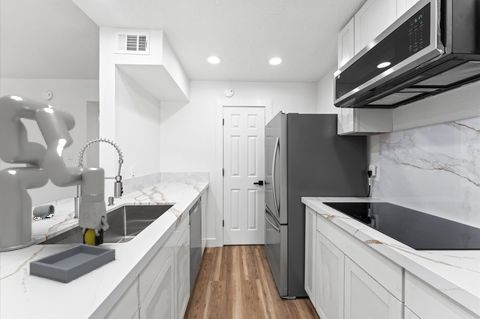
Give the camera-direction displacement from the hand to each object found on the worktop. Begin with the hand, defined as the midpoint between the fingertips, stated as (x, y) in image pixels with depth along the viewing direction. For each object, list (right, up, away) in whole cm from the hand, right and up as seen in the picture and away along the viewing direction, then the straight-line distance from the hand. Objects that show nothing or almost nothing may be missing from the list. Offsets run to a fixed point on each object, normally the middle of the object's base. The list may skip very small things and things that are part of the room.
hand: (93, 243), depth 89 cm
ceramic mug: (-60, -2, +46) cm, 76 cm away
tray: (+5, -1, -16) cm, 17 cm away
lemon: (0, -1, 0) cm, 1 cm away
